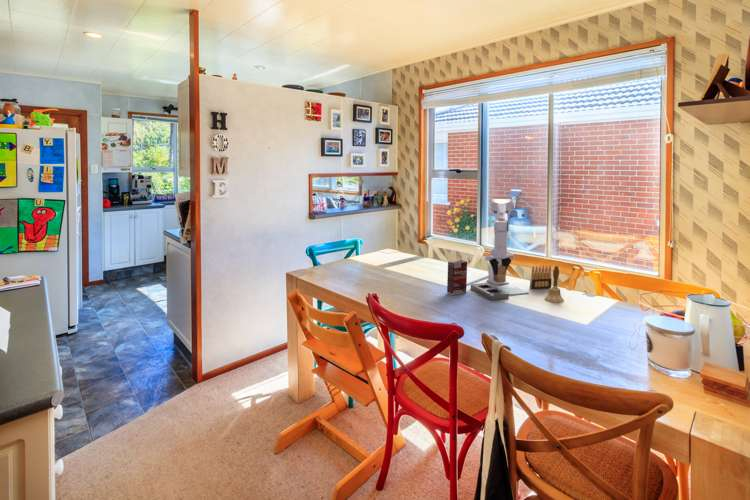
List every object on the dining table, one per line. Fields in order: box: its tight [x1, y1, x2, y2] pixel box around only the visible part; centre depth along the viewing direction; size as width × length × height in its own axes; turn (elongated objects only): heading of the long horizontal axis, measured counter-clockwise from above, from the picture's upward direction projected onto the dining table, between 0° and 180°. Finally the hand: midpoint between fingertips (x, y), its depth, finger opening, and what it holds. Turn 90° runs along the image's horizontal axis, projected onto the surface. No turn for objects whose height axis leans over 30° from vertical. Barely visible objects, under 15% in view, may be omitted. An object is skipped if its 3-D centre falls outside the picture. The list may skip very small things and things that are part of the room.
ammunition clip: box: [529, 264, 552, 291], centre depth 209 cm, size 11×2×12 cm, turn 98°
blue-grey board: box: [500, 286, 529, 297], centre depth 206 cm, size 10×10×1 cm
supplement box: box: [446, 259, 468, 296], centre depth 204 cm, size 9×5×16 cm, turn 117°
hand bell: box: [543, 265, 565, 304], centre depth 191 cm, size 8×8×16 cm
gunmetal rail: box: [470, 282, 510, 302], centre depth 203 cm, size 20×9×2 cm, turn 15°
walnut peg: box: [493, 265, 507, 282], centre depth 199 cm, size 4×4×8 cm
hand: (499, 274), depth 200 cm, fingers closed on walnut peg, 4 cm apart
